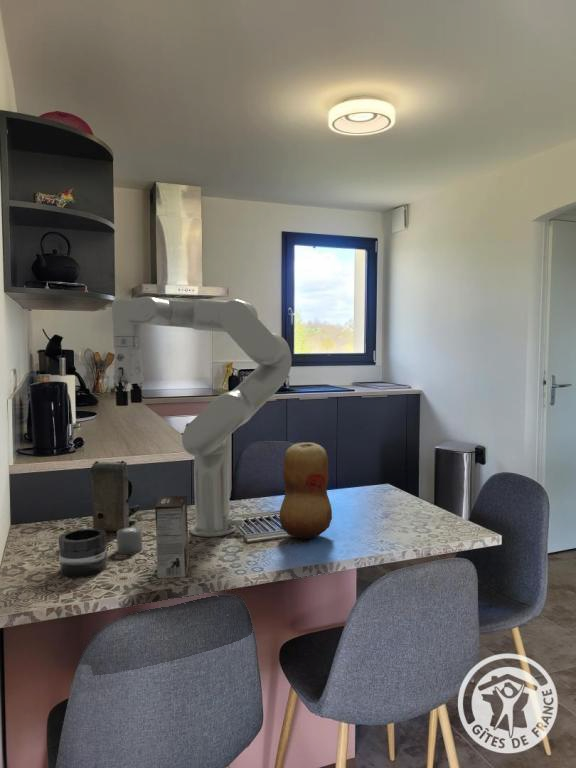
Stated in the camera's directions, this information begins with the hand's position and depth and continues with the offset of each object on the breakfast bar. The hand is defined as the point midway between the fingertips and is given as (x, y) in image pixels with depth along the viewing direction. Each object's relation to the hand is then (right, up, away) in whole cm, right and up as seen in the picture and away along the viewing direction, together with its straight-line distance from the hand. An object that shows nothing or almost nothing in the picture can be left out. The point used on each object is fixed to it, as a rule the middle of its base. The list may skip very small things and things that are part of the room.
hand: (129, 404), depth 164 cm
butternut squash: (+50, -35, -11) cm, 62 cm away
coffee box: (+19, -37, -32) cm, 52 cm away
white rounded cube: (+5, -36, -17) cm, 40 cm away
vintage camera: (-4, -36, +5) cm, 36 cm away
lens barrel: (-2, -37, -30) cm, 48 cm away
